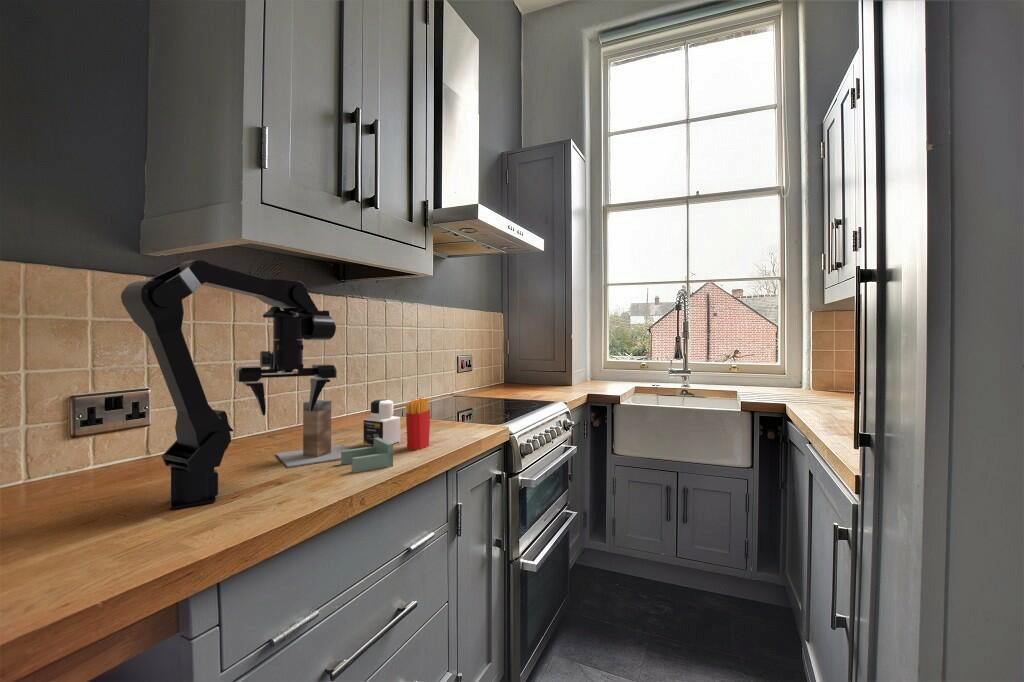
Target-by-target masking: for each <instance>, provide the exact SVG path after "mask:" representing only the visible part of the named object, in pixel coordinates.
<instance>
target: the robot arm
mask: <svg viewBox="0 0 1024 682" xmlns="http://www.w3.org/2000/svg"><path fill="white" fill-rule="evenodd" d="M201 286H206V287H210V288H214V289H219V290H223V291H228V292H232V293H236V294H239V295H240V294H241V295H245V296H249V297H253V298H256V299H258V300H259V301H261V302H262V303H264V304H266V305H269V306H271V307H270V308H269V310H268V311H266V312H265V313H263V315H262V317H263V318H264V319H272V327H273V328H272V330H273V332H272V333H273V334H272V352H271V351H270V350H269V351H268V350H266V351H265V350H261V351H260V353H259V366H258V365H255V366H254V365H253V366H238V368H236V369H235V381H237V382H239V383H242V384H243V385H244V386H246V387H250V389H251V391H252V393H253V394H254V396H255V398H256V401H257V403H258V408H259V409H260V412H261V415H262V416H266V409H267V407H266V399H265V396H266V395H265V387H264V382H261V380H262V379H265V378H266V379H268V378H272V379H273V378H289V377H290V378H291V377H295V378H296V377H312V378H310V392H309V400H308V401H309V411H313V408H314V406H315V404H316V401H317V400H319V399H318V398H319V397H320V394H321V392H322V390H323V388H324V387H325V385H326V384H327V383H331V379H335V378H337V374H338V373H337V372H338V371H337V368H336V366H335V365H334V364H330V363H329V364H328V363H327V364H326V363H325V364H323V363H322V364H320V363H319V364H312V365H311V367H304V359H303V358H304V355H303V354H304V340H306V341H329V340H331V339H333V337H334V336H335V334H336V328H337V324H336V323H335V320H334V318H333V317H331V315H330V310H319V309H318V307H317V306H316V304H315V302H314V301H313V299H312V298H311V296H310V295H309V293H308V289H307V287H306V285H305V283H303V282H302V281H299V280H297V279H296V280H295V279H279V278H265V277H261V276H258V275H254V274H251V273H248V272H243V271H240V270H236V269H233V268H228V267H225V266H222V265H221V266H220V265H217V264H214V263H210V262H208V261H206V260H204V259H193V260H186V261H183V262H182V263H180V265H179V264H178V265H177V266H175V267H174V268H172V269H169V270H167V271H164V272H162V273H160V274H158V275H156V276H154V277H151V278H150V279H148V280H139V281H138V280H136V281H133V282H131V283H129V284H127V285H126V286H125V288H124V289H123V291H122V292H121V294H120V299H121V303H122V305H123V307H124V309H125V310H126V311H127V313H128V315H129V316H130V318H131V319H132V321H133V323H135V325H136V326H138V328H140V329H141V331H142V332H143V333H144V334H145V335H146V336H147V337H148V339H149V343H150V346H151V348H152V350H153V353H154V355H155V358H156V360H157V363H158V365H159V369H160V370H161V371H160V372H161V373H162V376H163V378H164V381H165V384H166V387H167V389H168V391H169V394H170V396H171V399H172V402H173V405H174V407H175V410H176V419H175V427H174V429H175V436H176V440H175V442H173V443H172V444H171V446H170V447H169V448H168V449H166V450H165V452H164V453H163V454H162V455H161V459H162V461H163V463H164V465H165V467H170V497H169V509H170V510H177V509H182V508H187V507H193V506H198V505H204V504H210V503H215V502H216V501H217V499H216V497H217V496H218V495H219V471H218V470H217V469H215V468H218V467H220V466H221V463H222V461H223V457H224V456H225V452H226V451H227V449H228V448H229V445H230V444H231V443H232V436H231V433H232V432H234V429H233V428H232V427H231V426H230V423H229V419H228V414H227V411H225V410H221V409H220V410H219V409H213V408H212V407H211V406H210V404H209V403H208V399H207V397H206V394H205V391H204V389H203V386H202V384H201V381H200V380H201V379H200V377H199V375H198V371H197V369H196V366H195V363H194V360H193V359H192V358H193V357H192V355H191V352H190V350H189V347H188V344H187V342H186V339H185V336H184V333H183V329H182V327H183V322H184V321H183V320H184V315H185V314H184V313H185V310H184V304H183V300H184V299H186V298H187V297H188V296H190V295H192V294H193V293H194V292H196V291H197V290H198V289H199V287H201ZM262 368H264V369H262ZM267 368H268V369H267Z"/></svg>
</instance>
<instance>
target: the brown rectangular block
mask: <svg viewBox="0 0 1024 682" xmlns="http://www.w3.org/2000/svg"><path fill="white" fill-rule="evenodd" d="M302 403H303V405H302V414H303V415H302V417H303V419H302V422H303V423H302V428H303V429H302V436H303V437H302V438H303V439H302V450H303V456H310V457H320V456H323V455H327V454H330V453H331V446H332V400H325V399H323V400H322V399H317V401H316V404H315V406H314V408H313V411H309V400H308V401H304V402H302Z"/></svg>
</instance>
